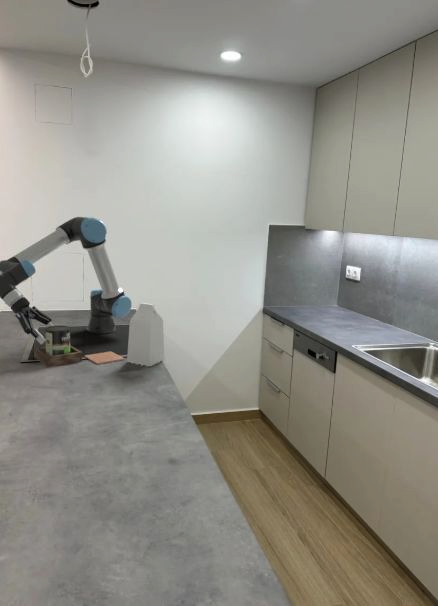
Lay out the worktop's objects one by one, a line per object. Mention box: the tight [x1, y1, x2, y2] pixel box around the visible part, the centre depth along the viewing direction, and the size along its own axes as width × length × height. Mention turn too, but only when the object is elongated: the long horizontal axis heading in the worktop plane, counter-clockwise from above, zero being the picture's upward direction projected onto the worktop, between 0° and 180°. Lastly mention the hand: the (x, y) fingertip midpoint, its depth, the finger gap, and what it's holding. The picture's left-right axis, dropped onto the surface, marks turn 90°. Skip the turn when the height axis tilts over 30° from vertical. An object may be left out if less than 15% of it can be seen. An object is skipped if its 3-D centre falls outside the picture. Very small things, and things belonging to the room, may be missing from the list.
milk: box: [126, 302, 165, 367], centre depth 203 cm, size 12×12×26 cm
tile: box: [84, 351, 125, 365], centre depth 206 cm, size 13×13×1 cm
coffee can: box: [44, 325, 71, 356], centre depth 200 cm, size 10×10×14 cm
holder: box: [33, 344, 83, 368], centre depth 201 cm, size 15×15×4 cm
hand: (51, 338), depth 200 cm, fingers open, 13 cm apart
